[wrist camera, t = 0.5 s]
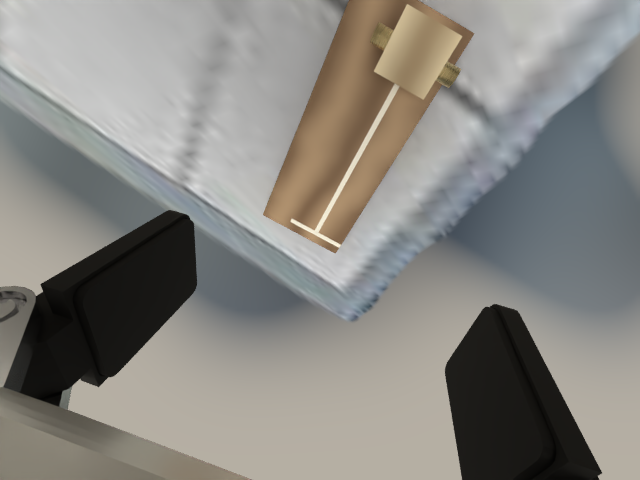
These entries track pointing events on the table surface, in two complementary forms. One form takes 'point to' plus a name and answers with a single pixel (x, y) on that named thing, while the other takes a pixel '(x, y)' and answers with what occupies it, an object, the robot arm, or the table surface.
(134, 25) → the table surface
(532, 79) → the table surface
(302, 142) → the board
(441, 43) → the marking gauge
